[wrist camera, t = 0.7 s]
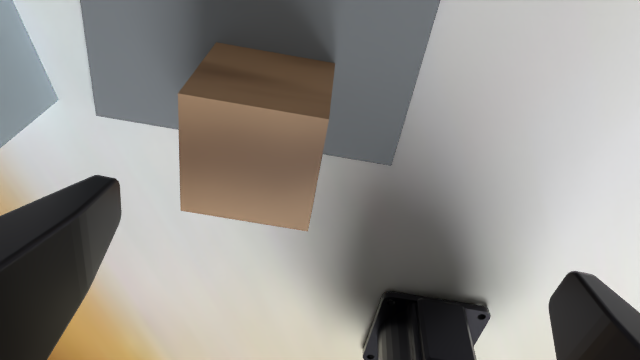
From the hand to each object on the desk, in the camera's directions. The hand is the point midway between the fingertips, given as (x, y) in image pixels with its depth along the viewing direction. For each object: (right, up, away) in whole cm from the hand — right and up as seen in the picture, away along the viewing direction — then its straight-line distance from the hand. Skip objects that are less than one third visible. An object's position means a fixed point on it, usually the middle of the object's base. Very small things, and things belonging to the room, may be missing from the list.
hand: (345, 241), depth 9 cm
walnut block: (-3, +4, +12) cm, 13 cm away
